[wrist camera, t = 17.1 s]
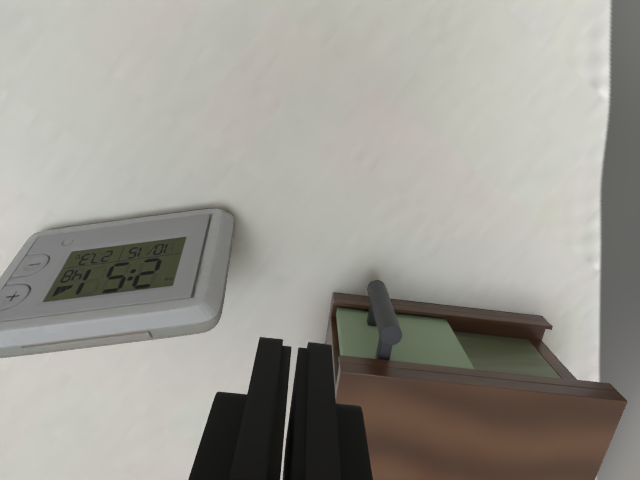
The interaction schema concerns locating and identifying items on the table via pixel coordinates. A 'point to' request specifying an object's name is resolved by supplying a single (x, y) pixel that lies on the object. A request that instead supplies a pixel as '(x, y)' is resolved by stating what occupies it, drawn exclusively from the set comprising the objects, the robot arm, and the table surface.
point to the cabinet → (477, 403)
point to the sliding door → (397, 334)
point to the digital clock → (116, 282)
